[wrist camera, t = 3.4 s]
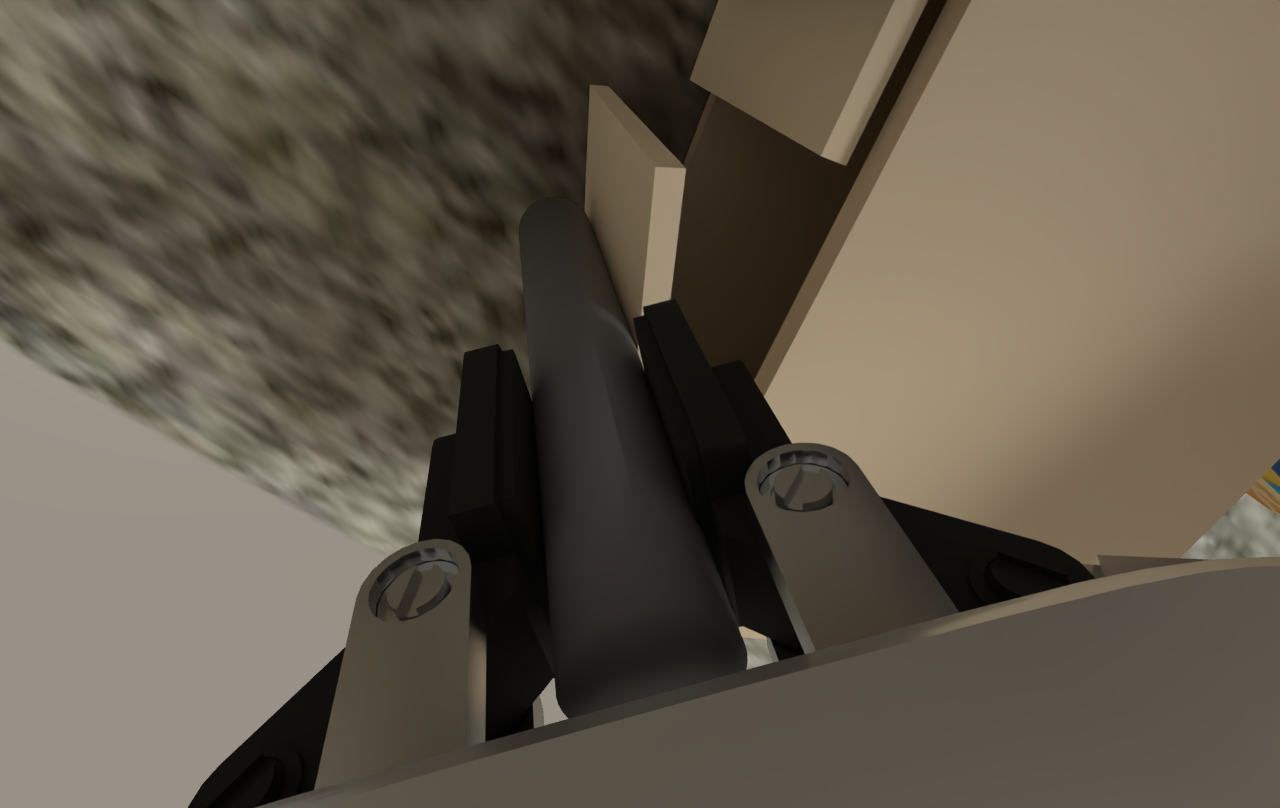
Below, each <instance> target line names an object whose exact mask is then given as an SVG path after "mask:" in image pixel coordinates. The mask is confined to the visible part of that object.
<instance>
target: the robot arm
mask: <svg viewBox="0 0 1280 808" xmlns="http://www.w3.org/2000/svg"><path fill="white" fill-rule="evenodd" d="M643 312H644V315H643V316H639V317H635V318H633V322H634V327H635V332H636V336H637V341H638V345H639V349H640V354H641V358H642V363H643V367H644V372H645V375H646V378H647V381H648V384H649V386H650V389H651V392H652V395H653V398H654V401H655V404H656V406H657V409H658V412H659V415H660V418H661V421H662V423H663V426H664V429H665V432H666V435H667V438H668V441H669V443H670V446H671V449H672V452H673V455H674V458H675V461H676V463H677V466H678V469H679V472H680V475H681V478H682V480H683V483H684V486H685V489H686V492H687V495H688V498H689V500H690V503H691V506H692V509H693V512H694V515H695V517H696V520H697V523H698V524H699V525H700V527H701V528H702V530H703V533H704V535H705V537H706V540H707V543H708V546H709V548H710V551H711V554H712V557H713V559H714V562H715V565H716V567H717V570H718V573H719V576H720V578H721V581H722V584H723V587H724V589H725V592H726V595H727V598H728V600H729V603H730V606H731V608H732V611H733V614H734V617H735V619H736V622H737V625H738V627H742V626H743V627H746V628H748V629H750V630H752V631H755V632H757V633H759V634H761V635H764V636H766V639H767V645H768V649H769V652H770V655H771V658H772V660H773V663H770V664H767V665H763V666H759V667H756V668H752V669H748V670H745V671H741V672H737V673H734V674H730V675H726V676H723V677H719V678H715V679H712V680H708V681H704V682H701V683H697V684H694V685H690V686H686V687H683V688H679V689H675V690H672V691H668V692H664V693H661V694H657V695H654V696H650V697H646V698H643V699H639V700H635V701H632V702H628V703H624V704H621V705H617V706H614V707H610V708H606V709H603V710H599V711H595V712H592V713H588V714H585V715H581V716H577V717H574V718H570V719H567V720H563V721H560V722H556V723H552V724H548V725H546V726H544V716H543V708H542V704H541V699H540V697H539V695H540V694H541V692H542V691H543V690H544V689H545V687H546V686H547V685H548V684H549V682H550V681H551V680H552V679H553V678H555V675H554V663H553V651H552V638H551V626H550V613H549V601H548V589H547V576H546V564H545V551H544V539H543V527H542V514H541V502H540V489H539V477H538V465H537V452H536V440H535V427H534V415H533V403H532V400H531V398H530V395H529V392H528V389H527V386H526V383H525V380H524V378H523V375H522V372H521V369H520V366H519V363H518V361H517V358H516V355H515V353H514V351H513V349H511V350H507V351H503V352H502V350H501V348H500V346H499V345H498V344H496V345H492V346H488V347H484V348H480V349H476V350H472V351H468V352H465V353H464V360H463V370H462V380H461V389H460V399H459V409H458V419H457V428H456V434H452V435H448V436H444V437H440V438H437V439H436V440H434V443H433V446H432V453H431V460H430V467H429V473H428V480H427V487H426V493H425V500H424V507H423V514H422V520H421V527H420V534H419V540H418V542H417V543H414V544H411V545H409V546H406V547H404V548H402V549H400V550H398V551H397V552H395V553H393V554H392V555H390V556H388V557H387V558H386V559H384V560H383V561H382V562H381V563H380V564H379V565H378V566H377V567H375V568H374V569H373V570H372V571H371V573H370V574H369V576H368V577H367V578H366V580H365V581H364V582H363V584H362V586H361V588H360V591H359V593H358V596H357V598H356V602H355V607H354V611H353V616H352V620H351V625H350V629H349V634H348V638H347V643H346V647H345V648H344V649H343V650H342V651H341V652H340V653H339V654H338V655H337V656H335V657H334V658H333V659H332V660H331V661H330V662H329V663H328V664H327V665H326V666H325V667H324V668H323V669H322V670H321V671H320V672H318V673H317V674H316V675H315V676H314V677H313V678H312V679H311V680H310V681H309V682H308V683H307V684H306V685H305V686H303V687H302V688H301V689H300V690H299V691H298V692H297V693H296V694H295V695H294V696H293V697H292V698H291V699H290V700H289V701H288V702H286V703H285V704H284V705H283V706H282V707H281V708H280V709H279V710H278V711H277V712H276V713H275V714H274V715H273V716H272V717H270V718H269V719H268V720H267V721H266V722H265V723H264V724H263V725H262V726H261V727H260V728H259V729H258V730H257V731H256V732H254V733H253V734H252V735H251V736H250V737H249V738H248V739H247V740H246V741H245V742H244V743H243V744H242V745H241V746H240V747H238V748H237V749H236V750H235V751H234V752H233V753H232V754H231V755H230V756H229V757H228V758H227V759H226V760H225V761H224V762H222V764H221V765H219V767H218V768H217V769H216V770H215V771H214V772H213V773H212V774H211V775H210V776H209V778H208V779H207V780H206V781H205V782H204V783H203V784H202V786H201V787H200V789H199V790H198V792H197V794H196V795H195V797H194V798H193V800H192V802H191V803H190V805H189V806H188V808H1280V557H1259V558H1238V559H1218V560H1208V559H1184V558H1159V557H1135V556H1111V555H1096V559H1095V562H1094V565H1091V564H1082V563H1081V562H1080V561H1078V560H1076V559H1075V558H1073V557H1072V556H1070V555H1069V554H1067V553H1065V552H1064V551H1062V550H1061V549H1058V548H1056V547H1053V546H1051V545H1048V544H1045V543H1043V542H1040V541H1037V540H1034V539H1030V538H1026V537H1023V536H1019V535H1016V534H1012V533H1009V532H1005V531H1001V530H998V529H994V528H991V527H987V526H984V525H980V524H976V523H973V522H969V521H966V520H962V519H959V518H955V517H951V516H948V515H944V514H941V513H937V512H934V511H930V510H926V509H923V508H919V507H916V506H912V505H909V504H905V503H901V502H898V501H894V500H891V499H887V498H884V497H880V496H879V495H878V493H877V492H876V491H875V489H874V488H873V486H872V485H871V483H870V482H869V480H868V479H867V477H866V476H865V475H864V473H863V472H862V470H861V469H860V467H859V466H858V465H857V464H856V463H855V462H854V461H853V460H852V459H851V458H850V457H849V456H848V455H847V454H845V453H843V452H841V451H839V450H838V449H836V448H834V447H830V446H826V445H822V444H818V443H794V444H792V442H791V441H790V439H789V437H788V436H787V434H786V432H785V431H784V429H783V427H782V426H781V424H780V422H779V421H778V419H777V418H776V416H775V414H774V413H773V411H772V409H771V408H770V406H769V404H768V403H767V401H766V399H765V398H764V396H763V394H762V393H761V391H760V389H759V388H758V386H757V384H756V383H755V381H754V379H753V378H752V376H751V374H750V373H749V371H748V369H747V368H746V366H745V365H744V363H743V362H742V361H741V360H736V361H732V362H728V363H724V364H721V365H717V366H713V367H710V365H709V364H708V362H707V360H706V358H705V356H704V354H703V352H702V350H701V348H700V346H699V344H698V342H697V340H696V338H695V336H694V334H693V332H692V330H691V328H690V327H689V325H688V323H687V321H686V319H685V317H684V315H683V313H682V311H681V309H680V307H679V305H678V303H677V301H676V300H675V299H671V300H667V301H663V302H659V303H655V304H651V305H648V306H644V307H643Z"/></svg>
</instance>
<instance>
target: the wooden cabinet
mask: <svg viewBox="0 0 1280 808" xmlns="http://www.w3.org/2000/svg"><path fill="white" fill-rule="evenodd" d="M683 166H684V167H685V168H686V174H685V182H684V191H683V199H682V207H681V215H680V224H679V232H678V240H677V249H676V257H675V265H674V273H673V282H672V290H671V298H670V300H671V299H675V300H676V301H677V303H678V305H679V307H680V309H681V311H682V313H683V315H684V317H685V319H686V321H687V323H688V325H689V327H690V328H691V330H692V332H693V334H694V336H695V338H696V340H697V342H698V344H699V346H700V348H701V350H702V352H703V354H704V356H705V358H706V360H707V362H708V364H709V365H710V367H713V366H717V365H721V364H724V363H728V362H732V361H736V360H741V361H742V362H743V363H744V365H745V366H746V368H747V369H748V371H749V373H750V374H751V376H752V378H753V379H754V381H755V383H756V384H757V386H758V388H759V389H760V391H761V393H762V394H763V396H764V398H765V399H766V401H767V403H768V404H769V406H770V408H771V409H772V411H773V413H774V414H775V416H776V418H777V419H778V421H779V422H780V424H781V426H782V427H783V429H784V431H785V432H786V434H787V436H788V437H789V439H790V441H791V442H792V444H794V443H818V444H822V445H826V446H830V447H834V448H836V449H838V450H839V451H841V452H843V453H845V454H847V455H848V456H849V457H850V458H851V459H852V460H853V461H854V462H855V463H856V464H857V465H858V466H859V467H860V469H861V470H862V472H863V473H864V475H865V476H866V477H867V479H868V480H869V482H870V483H871V485H872V486H873V488H874V489H875V491H876V492H877V493H878V495H879V496H880V497H884V498H887V499H891V500H894V501H898V502H901V503H905V504H909V505H912V506H916V507H919V508H923V509H926V510H930V511H934V512H937V513H941V514H944V515H948V516H951V517H955V518H959V519H962V520H966V521H969V522H973V523H976V524H980V525H984V526H987V527H991V528H994V529H998V530H1001V531H1005V532H1009V533H1012V534H1016V535H1019V536H1023V537H1026V538H1030V539H1034V540H1037V541H1040V542H1043V543H1045V544H1048V545H1051V546H1053V547H1056V548H1058V549H1061V550H1062V551H1064V552H1065V553H1067V554H1069V555H1070V556H1072V557H1073V558H1075V559H1076V560H1078V561H1080V562H1081V563H1082V564H1091V565H1094V562H1095V559H1096V555H1111V556H1135V557H1159V558H1180V557H1181V556H1182V555H1183V554H1184V553H1185V552H1186V551H1187V550H1188V549H1189V548H1190V547H1191V546H1192V545H1193V544H1194V543H1195V542H1196V541H1197V540H1198V539H1199V538H1200V537H1201V536H1202V535H1203V534H1204V533H1205V532H1207V531H1208V530H1209V529H1210V528H1211V527H1212V526H1213V525H1214V524H1215V523H1216V522H1217V521H1218V520H1219V519H1220V518H1221V517H1222V516H1223V515H1224V514H1225V513H1226V512H1227V511H1228V510H1229V509H1230V508H1231V507H1232V506H1233V505H1234V504H1235V503H1236V502H1237V501H1238V500H1239V499H1240V498H1241V497H1242V496H1243V495H1244V494H1245V493H1246V492H1247V491H1248V490H1249V489H1250V488H1251V487H1252V486H1253V485H1254V484H1255V483H1256V482H1257V481H1258V480H1259V479H1260V478H1261V477H1262V476H1263V475H1264V474H1265V473H1266V472H1267V471H1268V470H1269V469H1270V468H1271V467H1272V466H1273V465H1274V464H1275V463H1276V462H1277V461H1278V460H1279V459H1280V0H928V1H927V3H926V6H925V8H924V10H923V12H922V14H921V16H920V18H919V20H918V22H917V24H916V26H915V28H914V30H913V32H912V34H911V36H910V38H909V40H908V42H907V44H906V46H905V48H904V50H903V52H902V54H901V56H900V58H899V60H898V62H897V64H896V66H895V68H894V70H893V72H892V74H891V76H890V78H889V80H888V82H887V84H886V86H885V88H884V90H883V92H882V94H881V96H880V98H879V100H878V102H877V104H876V106H875V108H874V110H873V112H872V114H871V116H870V118H869V120H868V122H867V124H866V126H865V128H864V130H863V132H862V135H861V137H860V139H859V141H858V143H857V145H856V147H855V149H854V151H853V153H852V155H851V157H850V159H849V161H848V163H847V165H846V166H845V165H842V164H840V163H837V162H835V161H832V160H830V159H827V158H824V157H822V156H820V155H818V154H816V153H815V152H813V151H811V150H809V149H808V148H806V147H804V146H803V145H801V144H799V143H797V142H796V141H794V140H792V139H790V138H789V137H787V136H785V135H784V134H782V133H780V132H778V131H777V130H775V129H773V128H771V127H770V126H768V125H766V124H765V123H763V122H761V121H759V120H758V119H756V118H754V117H752V116H751V115H749V114H747V113H746V112H744V111H742V110H740V109H739V108H737V107H735V106H733V105H732V104H730V103H728V102H727V101H725V100H723V99H721V98H720V97H718V96H716V95H714V94H713V93H710V95H709V98H708V101H707V103H706V106H705V109H704V111H703V114H702V116H701V119H700V122H699V124H698V127H697V130H696V132H695V135H694V137H693V140H692V143H691V145H690V148H689V150H688V153H687V156H686V158H685V161H684V164H683ZM738 628H739V630H740V633H741V636H742V637H746V638H756V639H766V636H764V635H761V634H759V633H757V632H755V631H752V630H750V629H748V628H746V627H743V626H742V627H738ZM766 640H767V639H766Z"/></svg>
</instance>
